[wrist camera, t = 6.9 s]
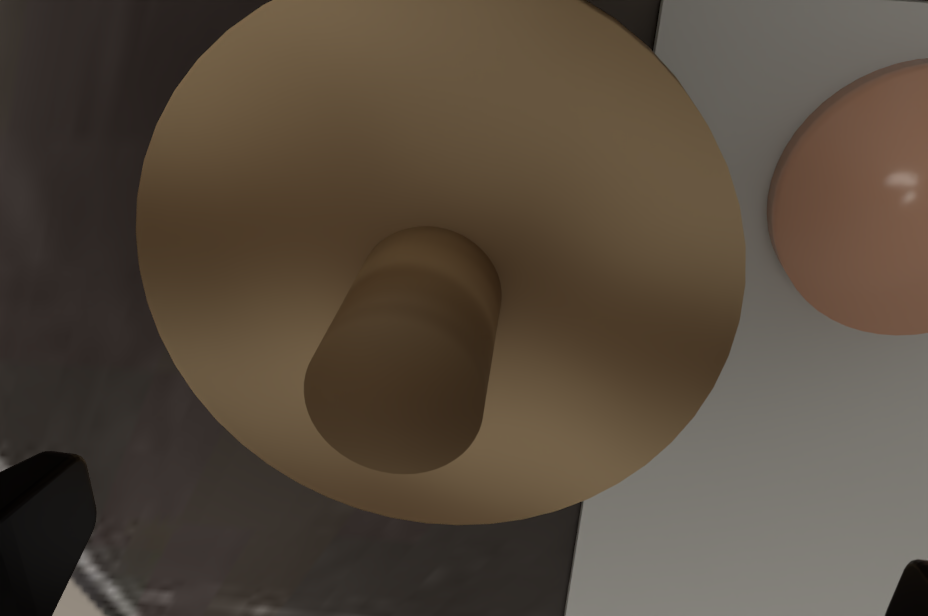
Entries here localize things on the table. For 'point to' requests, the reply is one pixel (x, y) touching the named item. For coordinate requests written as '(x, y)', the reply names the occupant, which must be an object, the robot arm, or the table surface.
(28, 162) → the table surface
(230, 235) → the lid
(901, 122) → the pink glossy dome
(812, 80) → the mat
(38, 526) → the robot arm
